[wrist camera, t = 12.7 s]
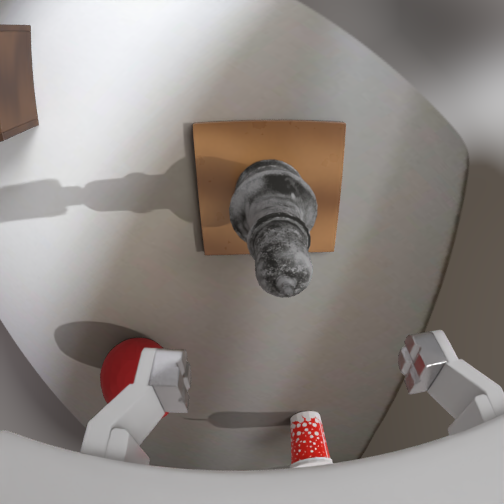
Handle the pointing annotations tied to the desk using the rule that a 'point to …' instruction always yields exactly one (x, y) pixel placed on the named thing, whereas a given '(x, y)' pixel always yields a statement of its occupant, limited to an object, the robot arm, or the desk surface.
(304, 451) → the beverage cup
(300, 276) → the grey stone turned piece
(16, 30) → the open wooden box
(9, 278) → the desk surface
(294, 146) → the trivet
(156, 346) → the apple
